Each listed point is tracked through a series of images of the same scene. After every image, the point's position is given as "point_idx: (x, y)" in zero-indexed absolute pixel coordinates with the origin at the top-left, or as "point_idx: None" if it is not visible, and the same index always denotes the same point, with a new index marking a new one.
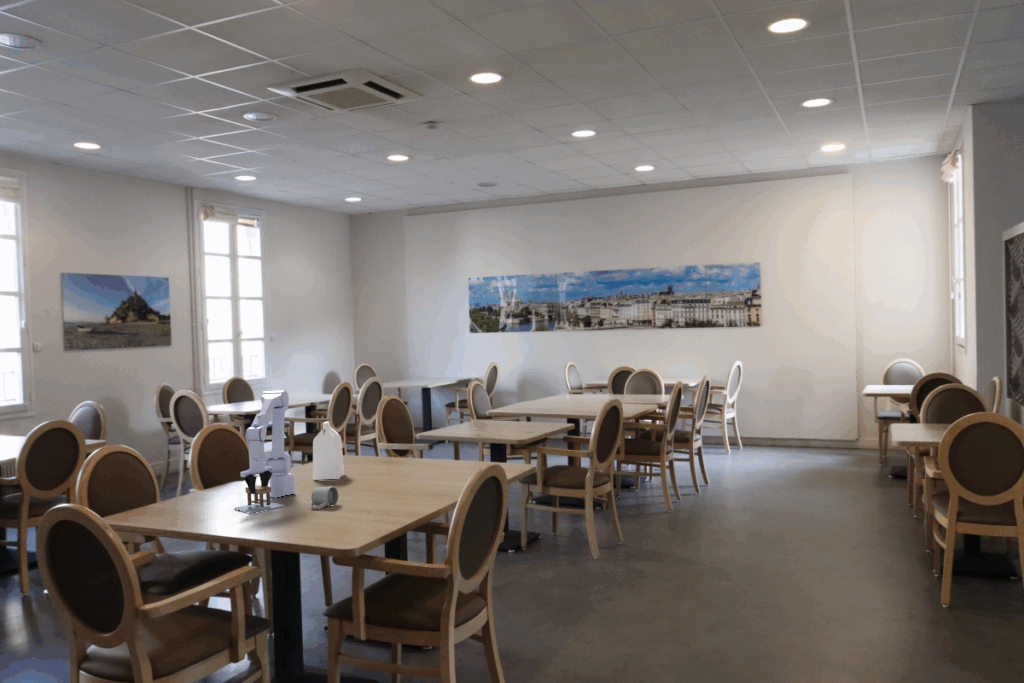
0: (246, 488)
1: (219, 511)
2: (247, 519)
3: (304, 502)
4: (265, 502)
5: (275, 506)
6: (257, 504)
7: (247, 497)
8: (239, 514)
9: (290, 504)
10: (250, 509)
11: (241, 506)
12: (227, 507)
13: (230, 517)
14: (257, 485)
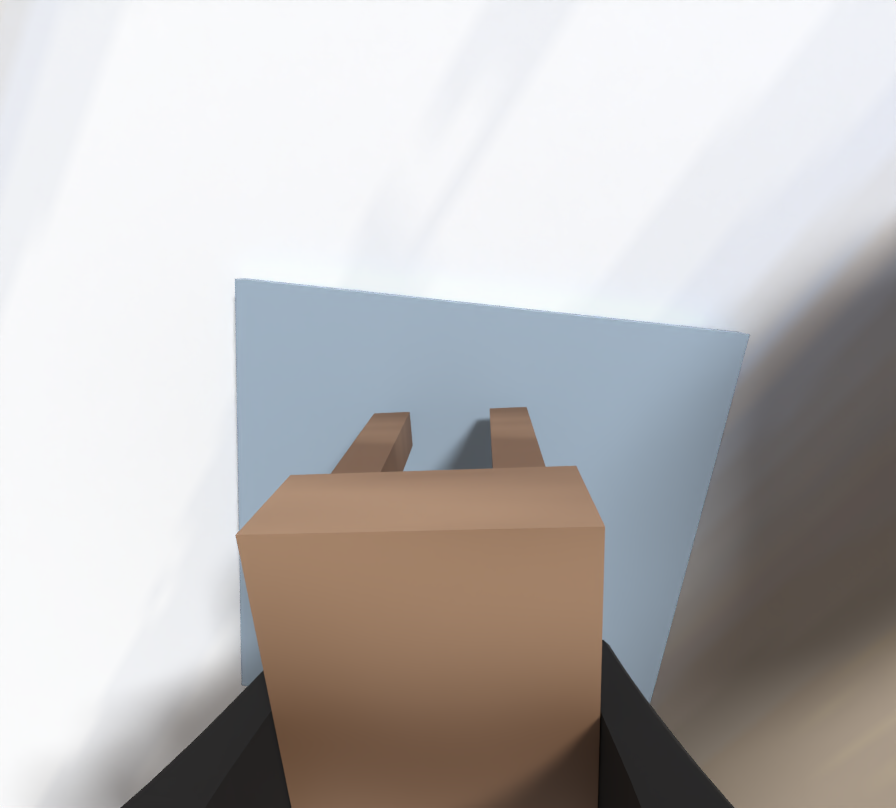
0: (251, 560)
1: (79, 182)
2: (127, 776)
3: (887, 755)
4: (668, 405)
5: None
6: (531, 407)
7: (343, 456)
8: (169, 561)
9: (751, 692)
10: None
11: (345, 300)
12: (262, 36)
13: (52, 584)
14: (580, 607)
